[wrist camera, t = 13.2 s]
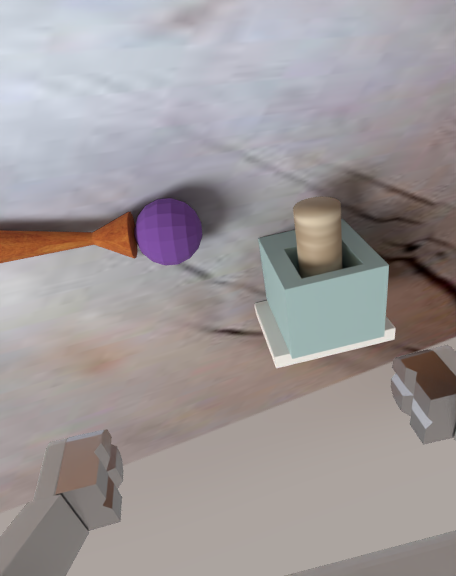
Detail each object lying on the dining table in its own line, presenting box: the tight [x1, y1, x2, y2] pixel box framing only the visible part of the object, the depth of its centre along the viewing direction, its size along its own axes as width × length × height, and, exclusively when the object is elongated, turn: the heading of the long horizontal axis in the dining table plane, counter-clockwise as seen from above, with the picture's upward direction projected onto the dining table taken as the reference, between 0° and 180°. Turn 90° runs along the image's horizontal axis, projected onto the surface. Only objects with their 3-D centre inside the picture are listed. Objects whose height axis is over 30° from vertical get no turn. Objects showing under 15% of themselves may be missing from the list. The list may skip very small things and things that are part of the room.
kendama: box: [0, 198, 202, 265], centre depth 36 cm, size 6×6×20 cm
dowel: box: [293, 197, 342, 279], centre depth 38 cm, size 10×4×4 cm, turn 10°
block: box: [258, 219, 389, 359], centre depth 40 cm, size 8×9×10 cm
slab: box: [254, 301, 395, 368], centre depth 43 cm, size 2×12×9 cm, turn 100°
